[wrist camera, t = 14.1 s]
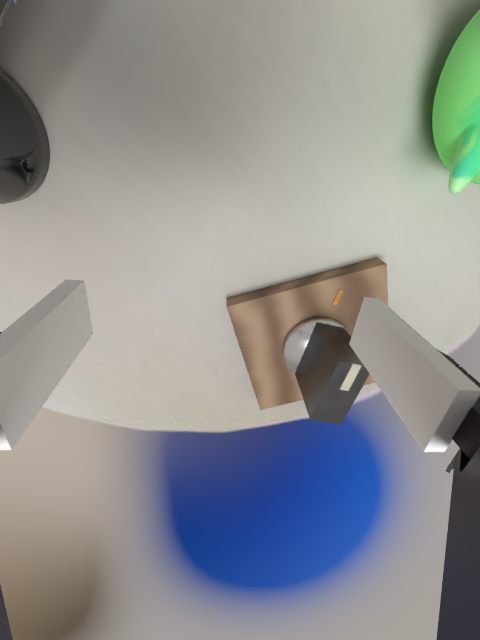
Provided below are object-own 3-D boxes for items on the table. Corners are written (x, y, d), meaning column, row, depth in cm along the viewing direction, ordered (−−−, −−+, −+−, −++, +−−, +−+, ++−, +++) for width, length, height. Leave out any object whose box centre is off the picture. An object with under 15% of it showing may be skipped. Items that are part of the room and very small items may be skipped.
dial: (333, 377, 52) (361, 431, 42) (274, 367, 51) (287, 420, 40) (360, 324, 48) (398, 370, 37) (295, 310, 46) (316, 354, 35)
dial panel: (258, 398, 58) (260, 410, 55) (226, 298, 48) (226, 307, 45) (382, 368, 56) (391, 379, 53) (377, 257, 46) (387, 264, 43)
